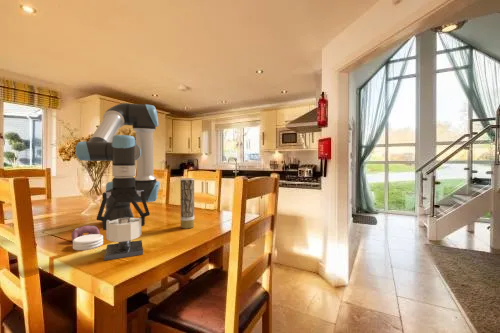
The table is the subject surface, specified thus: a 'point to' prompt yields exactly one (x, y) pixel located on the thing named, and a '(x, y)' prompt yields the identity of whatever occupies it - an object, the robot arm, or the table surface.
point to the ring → (123, 230)
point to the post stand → (123, 246)
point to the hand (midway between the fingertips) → (124, 236)
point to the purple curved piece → (84, 231)
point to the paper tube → (187, 203)
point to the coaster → (87, 242)
